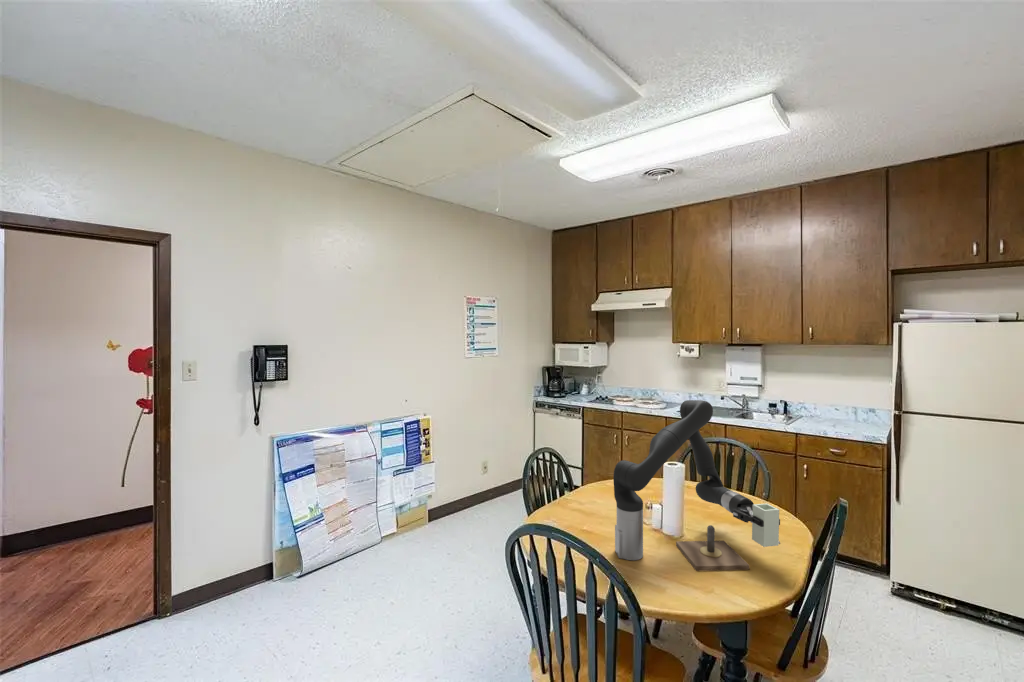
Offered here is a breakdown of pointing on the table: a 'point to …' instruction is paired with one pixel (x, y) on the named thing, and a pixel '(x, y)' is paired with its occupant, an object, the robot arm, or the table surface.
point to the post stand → (711, 554)
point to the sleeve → (766, 525)
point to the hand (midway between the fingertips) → (771, 523)
